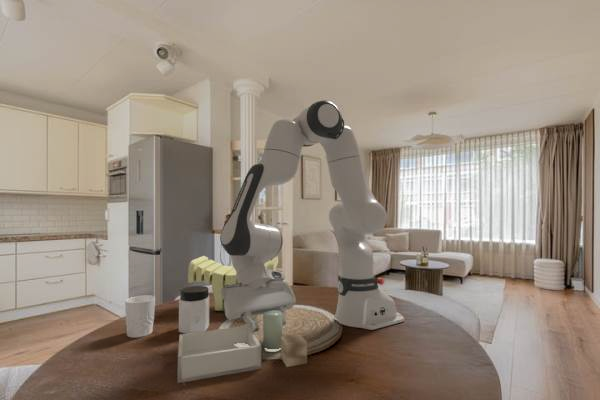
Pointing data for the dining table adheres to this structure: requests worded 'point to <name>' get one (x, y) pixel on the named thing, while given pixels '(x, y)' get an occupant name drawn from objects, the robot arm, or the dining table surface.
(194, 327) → the jar
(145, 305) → the white cup
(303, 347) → the beech cube
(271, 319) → the sage cylinder
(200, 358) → the tote
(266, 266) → the slatted curved stool
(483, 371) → the dining table surface
